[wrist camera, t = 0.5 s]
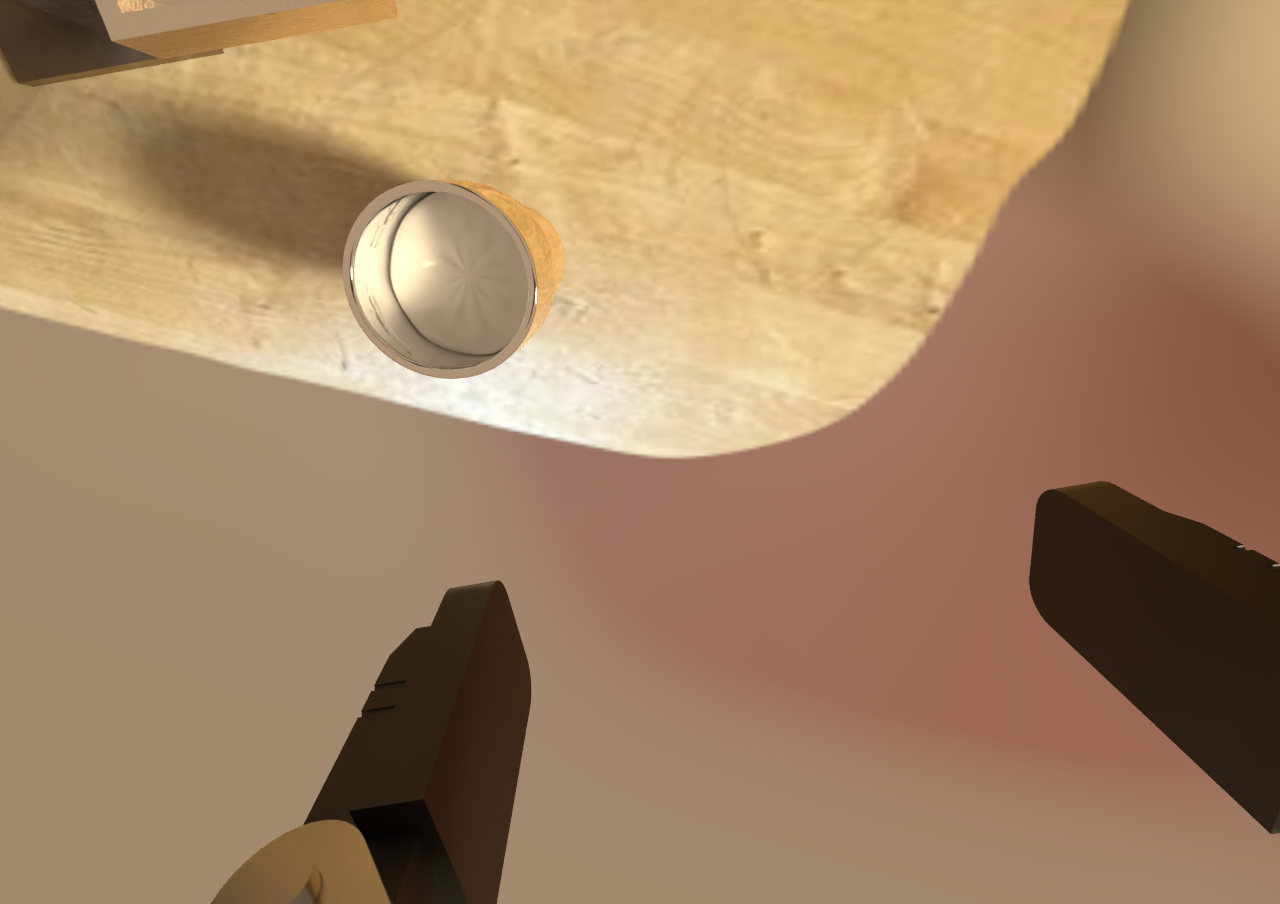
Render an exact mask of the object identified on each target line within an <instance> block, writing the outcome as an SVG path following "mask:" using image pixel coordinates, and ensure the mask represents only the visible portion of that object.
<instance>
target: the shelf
mask: <svg viewBox="0 0 1280 904" xmlns="http://www.w3.org/2000/svg"><path fill="white" fill-rule="evenodd" d="M395 18H399V17H398V13H397V9H396V5H395V1H394V0H0V45H1V47H2V50H3V52H4V54H5V56H6V58H7V60H8V62H9V64H10V67H11V69H12V71H13V73H14V75H15V77H16V79H17V82H18V83H20V84H24V85H28V86H32V87H34V86H39V85H45V84H51V83H56V82H62V81H68V80H74V79H79V78H85V77H91V76H96V75H102V74H108V73H113V72H119V71H125V70H130V69H136V68H142V67H148V66H153V65H159V64H165V63H170V62H176V61H182V60H187V59H193V58H199V57H204V56H210V55H216V54H222V53H224V51H223V49H224V48H230V47H236V46H241V45H247V44H253V43H258V42H264V41H270V40H275V39H281V38H287V37H292V36H298V35H304V34H310V33H315V32H321V31H327V30H332V29H338V28H344V27H349V26H355V25H361V24H366V23H372V22H378V21H383V20H389V19H395Z"/></svg>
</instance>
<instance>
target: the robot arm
mask: <svg viewBox="0 0 1280 904" xmlns="http://www.w3.org/2000/svg"><path fill="white" fill-rule="evenodd" d="M1029 585H1030V591H1031V595H1032V598H1033V601H1034V604H1035V606H1036V608H1037V610H1038V611H1039V613H1040V615H1041V616H1042V617H1043V619H1044V620H1045V621H1046V622H1047V623H1048V624H1049V625H1050V626H1051V627H1052V628H1053V629H1054V630H1055V631H1056V632H1057V633H1058V634H1059V635H1060V636H1061V637H1063V639H1065V640H1066V641H1067V642H1068V643H1069V644H1070V645H1071V646H1072V647H1073V648H1074V649H1075V650H1076V651H1077V652H1079V654H1080V655H1081V656H1083V657H1084V658H1085V659H1086V660H1087V661H1088V662H1089V663H1090V664H1091V665H1092V666H1093V667H1094V668H1095V669H1096V670H1097V671H1098V672H1099V673H1101V674H1102V675H1103V676H1104V677H1105V678H1106V679H1107V680H1108V681H1109V682H1110V683H1111V684H1112V685H1113V686H1115V688H1117V689H1118V690H1119V691H1120V692H1121V693H1122V694H1123V695H1124V696H1125V697H1126V698H1127V699H1128V700H1129V701H1130V702H1131V703H1132V704H1133V705H1134V706H1136V707H1137V708H1138V709H1139V710H1140V711H1141V712H1142V713H1143V714H1144V715H1145V716H1146V717H1147V718H1148V719H1149V720H1150V721H1152V722H1153V723H1154V724H1155V725H1156V726H1157V727H1158V728H1159V729H1160V730H1161V731H1162V732H1163V733H1164V734H1165V735H1166V736H1167V737H1169V739H1171V740H1172V741H1173V742H1174V743H1175V744H1176V745H1177V746H1178V747H1179V748H1180V749H1181V750H1182V751H1183V752H1184V753H1185V754H1187V755H1188V756H1189V757H1190V758H1191V759H1192V760H1193V761H1194V762H1195V763H1196V764H1197V765H1198V766H1199V767H1200V768H1202V769H1203V770H1204V771H1205V772H1206V773H1207V774H1208V775H1209V776H1210V777H1211V778H1212V779H1213V780H1214V781H1215V782H1216V783H1217V784H1218V785H1219V786H1221V788H1223V789H1224V790H1225V791H1226V792H1227V793H1228V794H1229V795H1230V796H1231V797H1232V798H1233V799H1234V800H1235V801H1236V802H1237V803H1238V804H1239V805H1241V806H1242V807H1243V808H1244V809H1245V810H1246V811H1247V812H1248V813H1249V814H1250V815H1251V816H1252V817H1253V818H1254V819H1255V820H1256V821H1258V822H1259V823H1260V824H1261V825H1262V826H1263V827H1264V828H1265V829H1266V830H1267V831H1268V832H1269V833H1270V834H1275V833H1280V564H1279V563H1277V562H1275V561H1273V560H1272V559H1270V558H1268V557H1266V556H1264V555H1262V554H1260V553H1258V552H1256V551H1254V550H1248V551H1247V550H1246V549H1245V548H1244V545H1243V544H1241V543H1239V542H1237V541H1235V540H1233V539H1232V538H1230V537H1227V536H1226V535H1224V534H1222V533H1220V532H1218V531H1216V530H1214V529H1212V528H1211V527H1209V526H1207V525H1205V524H1203V523H1200V522H1196V521H1193V520H1190V519H1187V518H1184V517H1181V516H1177V515H1174V514H1171V513H1168V512H1165V511H1163V510H1161V509H1159V508H1157V507H1155V506H1153V505H1151V504H1150V503H1148V502H1146V501H1144V500H1142V499H1140V498H1139V497H1137V496H1134V495H1133V494H1131V493H1129V492H1127V491H1126V490H1123V489H1122V488H1120V487H1118V486H1116V485H1114V484H1112V483H1110V482H1105V481H1099V482H1093V483H1087V484H1081V485H1075V486H1070V487H1063V488H1057V489H1051V490H1047V491H1045V492H1044V493H1043V494H1041V496H1040V497H1039V499H1038V502H1037V506H1036V514H1035V525H1034V535H1033V547H1032V556H1031V566H1030V576H1029ZM374 686H375V691H371V693H370V695H369V697H368V699H367V701H366V703H365V705H364V707H363V709H362V717H359V718H358V719H357V721H356V723H355V725H354V726H353V728H352V730H351V732H350V734H349V736H348V739H347V740H346V742H345V744H344V746H343V748H342V750H341V752H340V754H339V756H338V758H337V760H336V762H335V764H334V766H333V768H332V770H331V772H330V774H329V776H328V778H327V780H326V782H325V783H324V785H323V787H322V790H321V791H320V793H319V795H318V797H317V799H316V801H315V803H314V805H313V807H312V809H311V811H310V813H309V815H308V817H307V819H306V821H305V823H304V825H303V826H300V827H298V828H295V829H293V830H291V831H289V832H287V833H285V834H283V835H282V836H280V837H278V838H277V839H275V840H273V841H271V842H270V843H269V844H267V845H266V846H265V847H263V848H262V849H260V850H259V851H258V852H257V853H255V854H254V855H253V856H252V857H251V858H250V859H248V860H247V861H246V862H245V863H244V864H243V865H242V866H241V867H240V868H239V869H238V870H237V871H236V872H235V873H234V874H233V875H232V876H231V877H230V879H229V880H228V881H227V882H226V883H225V885H224V886H223V887H222V888H221V890H220V891H219V893H218V894H217V895H216V897H215V898H214V900H213V901H212V903H211V904H497V898H498V892H499V886H500V880H501V875H502V869H503V863H504V857H505V851H506V845H507V839H508V834H509V827H510V822H511V816H512V810H513V804H514V798H515V792H516V786H517V781H518V775H519V769H520V763H521V757H522V751H523V745H524V740H525V734H526V727H527V722H528V716H529V710H530V704H531V677H530V670H529V665H528V660H527V657H526V654H525V650H524V647H523V644H522V641H521V637H520V634H519V630H518V627H517V624H516V621H515V617H514V614H513V611H512V607H511V604H510V601H509V597H508V594H507V591H506V589H505V587H504V585H503V584H502V582H500V581H491V582H485V583H480V584H474V585H468V586H462V587H456V588H450V589H449V590H448V591H447V592H446V593H445V595H444V598H443V600H442V602H441V604H440V607H439V609H438V611H437V613H436V616H435V618H434V620H433V623H432V625H431V626H429V627H422V628H417V629H415V630H414V631H413V632H412V633H411V634H410V635H409V636H408V637H407V638H406V639H405V640H404V641H403V642H402V644H400V646H399V647H398V648H397V649H396V650H395V651H394V652H393V653H392V654H391V655H390V656H389V658H388V660H387V662H386V664H385V666H384V667H383V669H382V671H381V673H380V675H379V677H378V679H377V681H376V683H375V685H374Z"/></svg>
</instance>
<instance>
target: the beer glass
mask: <svg viewBox="0 0 1280 904" xmlns="http://www.w3.org/2000/svg"><path fill="white" fill-rule="evenodd" d="M564 268H565V256H564V249H563V246H562V243H561V240H560V238H559V235H558V234H557V232H556V230H555V229H554V227H553V226H552V225H551V223H550V222H549V221H548V220H547V219H546V218H545V217H544V216H543V215H541V214H540V213H539V212H537V211H535V210H534V209H532V208H530V207H528V206H525V205H522V204H521V203H520V202H518V201H517V200H516V199H514V198H512V197H511V196H509V195H507V194H505V193H503V192H501V191H499V190H497V189H495V188H492V187H490V186H487V185H484V184H480V183H475V182H469V181H462V180H419V181H412V182H408V183H404V184H401V185H398V186H395V187H393V188H391V189H389V190H387V191H385V192H383V193H382V194H380V195H379V196H377V197H376V198H375V199H374V200H372V201H371V202H370V203H369V204H368V205H367V206H366V207H365V208H364V209H363V211H362V212H361V213H360V214H359V216H358V217H357V219H356V220H355V222H354V224H353V226H352V228H351V230H350V232H349V235H348V238H347V241H346V244H345V249H344V254H343V281H344V288H345V292H346V296H347V299H348V302H349V305H350V308H351V310H352V312H353V314H354V316H355V318H356V320H357V322H358V324H359V325H360V327H361V328H362V330H363V331H364V333H365V334H366V335H367V337H368V338H369V339H370V340H371V341H372V342H373V343H374V345H375V346H376V347H377V348H378V349H380V350H381V351H382V352H383V353H384V354H385V355H387V356H388V357H389V358H391V359H392V360H394V361H395V362H397V363H398V364H400V365H402V366H404V367H406V368H408V369H410V370H412V371H415V372H417V373H420V374H423V375H427V376H431V377H437V378H447V379H457V378H466V377H471V376H475V375H479V374H482V373H485V372H487V371H489V370H491V369H493V368H495V367H497V366H498V365H500V364H502V363H503V362H504V361H506V360H507V359H508V358H509V357H510V356H511V355H513V354H514V353H516V352H517V351H518V350H520V349H521V348H522V347H523V346H524V345H526V344H527V343H528V342H529V341H530V340H531V338H532V337H533V336H534V335H535V334H536V333H537V332H538V331H539V329H540V328H541V326H542V325H543V323H544V322H545V320H546V318H547V316H548V314H549V312H550V309H551V307H552V304H553V301H554V298H555V294H556V292H557V290H558V288H559V286H560V284H561V282H562V279H563V275H564Z"/></svg>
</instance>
